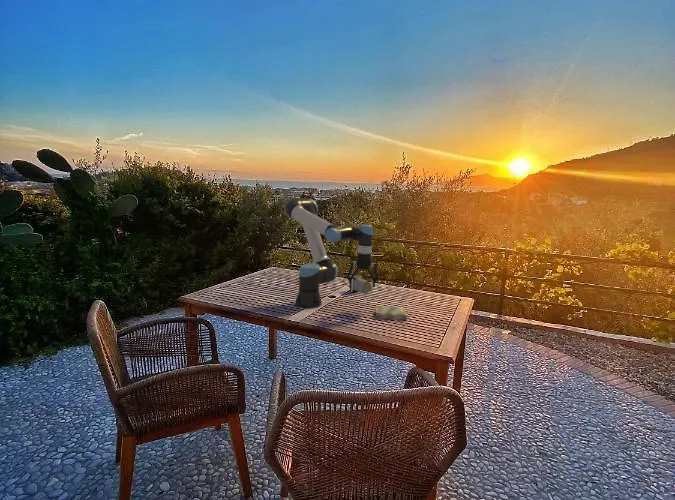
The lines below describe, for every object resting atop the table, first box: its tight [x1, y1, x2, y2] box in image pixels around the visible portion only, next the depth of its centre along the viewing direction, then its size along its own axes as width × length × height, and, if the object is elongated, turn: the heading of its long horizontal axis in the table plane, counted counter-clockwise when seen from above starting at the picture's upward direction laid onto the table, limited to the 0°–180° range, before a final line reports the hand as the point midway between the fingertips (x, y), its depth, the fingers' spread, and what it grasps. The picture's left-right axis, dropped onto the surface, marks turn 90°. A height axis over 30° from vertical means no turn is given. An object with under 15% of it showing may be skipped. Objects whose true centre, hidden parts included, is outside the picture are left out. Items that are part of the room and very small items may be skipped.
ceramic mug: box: [353, 278, 372, 294], centre depth 210 cm, size 11×8×8 cm
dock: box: [375, 305, 408, 321], centre depth 204 cm, size 16×12×3 cm
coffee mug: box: [342, 274, 363, 293], centre depth 251 cm, size 12×9×10 cm
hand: (361, 291), depth 210 cm, fingers closed on ceramic mug, 10 cm apart
